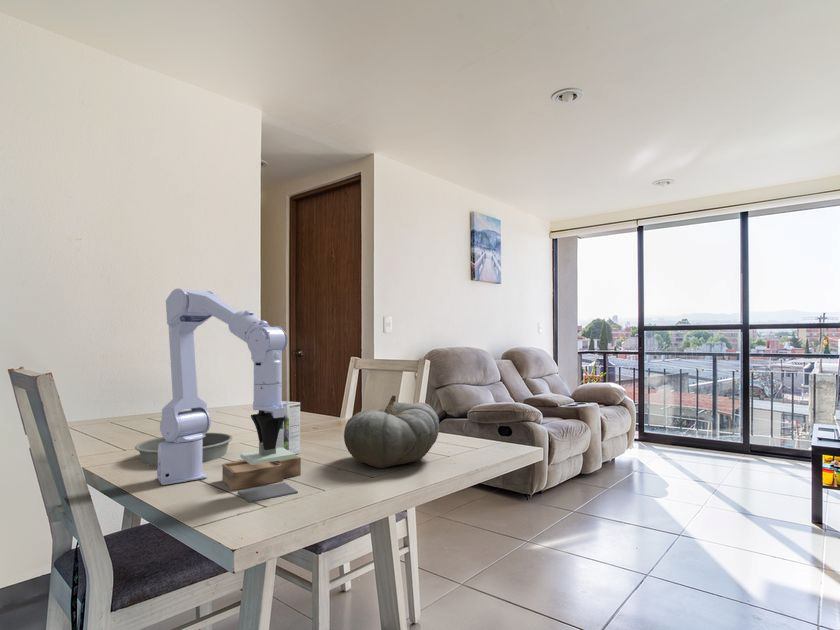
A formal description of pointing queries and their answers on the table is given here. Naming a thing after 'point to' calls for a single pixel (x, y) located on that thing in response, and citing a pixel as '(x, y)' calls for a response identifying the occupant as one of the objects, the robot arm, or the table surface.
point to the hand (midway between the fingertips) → (267, 448)
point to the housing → (259, 472)
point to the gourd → (392, 434)
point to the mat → (267, 492)
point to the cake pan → (211, 448)
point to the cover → (266, 455)
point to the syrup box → (290, 428)
